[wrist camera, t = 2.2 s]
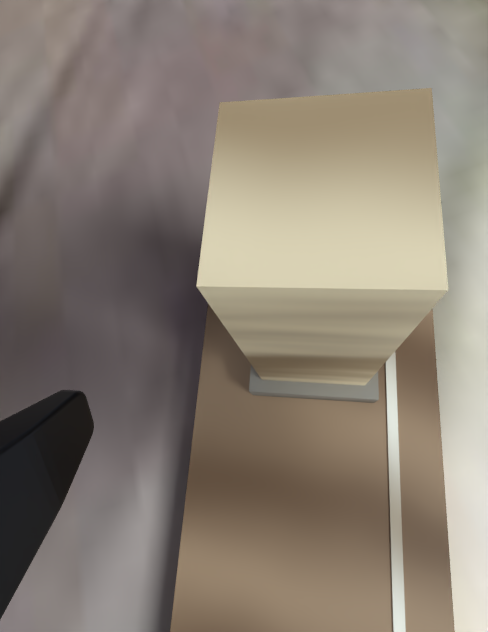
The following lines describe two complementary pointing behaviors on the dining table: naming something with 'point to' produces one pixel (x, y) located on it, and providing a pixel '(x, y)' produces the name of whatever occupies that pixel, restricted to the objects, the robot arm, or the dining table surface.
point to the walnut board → (315, 503)
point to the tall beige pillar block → (323, 237)
